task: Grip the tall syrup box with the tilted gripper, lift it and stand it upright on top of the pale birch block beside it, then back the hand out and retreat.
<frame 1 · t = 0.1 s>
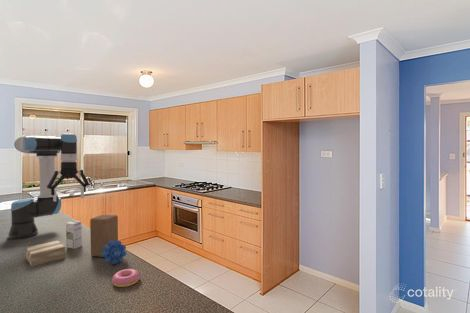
hand: (69, 199, 149), 28 cm above the counter, tool pointing down, fingers open, 13 cm apart
syrup box: (74, 247, 153), on the counter
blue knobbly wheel: (115, 265, 130), on the counter
wooden block: (104, 253, 144), on the counter
doughnut: (126, 282, 113), on the counter
birch block: (45, 258, 138), on the counter
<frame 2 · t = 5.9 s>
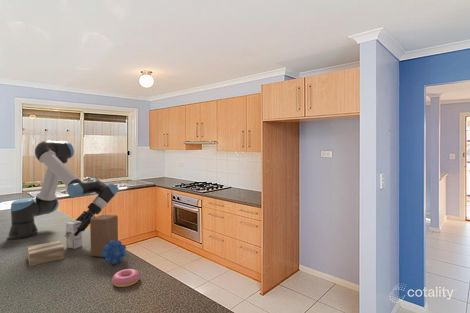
hand: (67, 238, 151), 6 cm above the counter, tool tilted 45°, fingers closed on syrup box, 7 cm apart
syrup box: (74, 247, 153), on the counter, touching gripper
everything else where it was.
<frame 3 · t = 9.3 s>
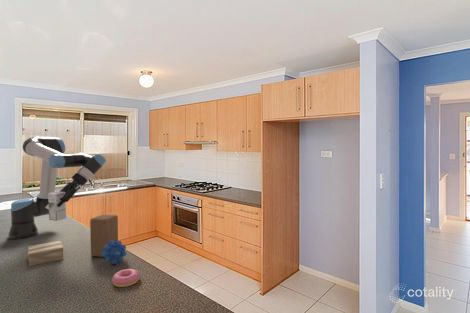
hand: (49, 210, 140), 24 cm above the counter, tool tilted 45°, fingers closed on syrup box, 7 cm apart
syrup box: (57, 219, 143), point 18 cm above the counter, touching gripper
everything else where it was.
when the fingers open (13 cm above the counter, at t = 12.9 s): syrup box drops 2 cm, resting on birch block.
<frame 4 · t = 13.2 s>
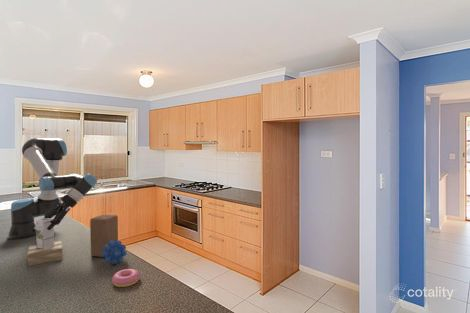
hand: (38, 232, 136), 14 cm above the counter, tool tilted 45°, fingers open, 12 cm apart
syrup box: (45, 247, 138), point 5 cm above the counter, touching birch block
birch block: (45, 258, 138), on the counter, touching syrup box
everything else where it was.
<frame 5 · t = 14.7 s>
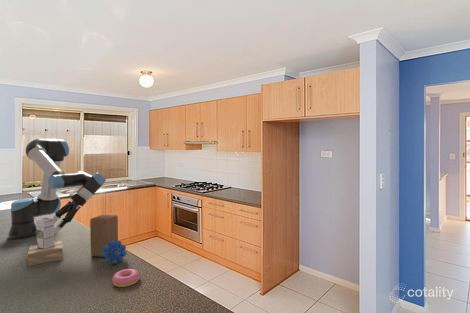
hand: (50, 229, 139), 14 cm above the counter, tool tilted 45°, fingers open, 13 cm apart
syrup box: (46, 247, 138), point 5 cm above the counter
birch block: (46, 258, 138), on the counter
everything else where it was.
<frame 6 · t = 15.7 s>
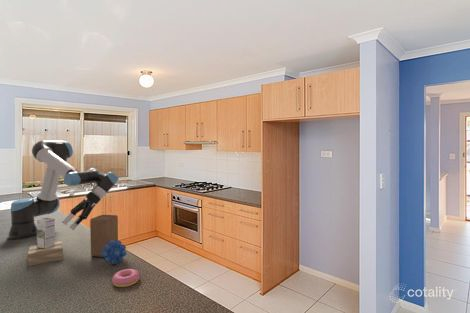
hand: (67, 226, 145), 14 cm above the counter, tool tilted 45°, fingers open, 13 cm apart
nothing on the counter moved.
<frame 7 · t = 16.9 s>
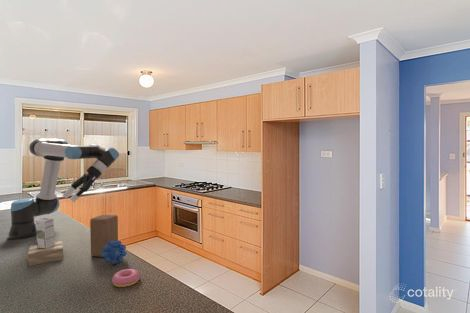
hand: (67, 198, 145), 29 cm above the counter, tool tilted 45°, fingers open, 13 cm apart
syrup box: (46, 247, 138), point 5 cm above the counter, touching birch block
birch block: (46, 258, 138), on the counter, touching syrup box
everything else where it was.
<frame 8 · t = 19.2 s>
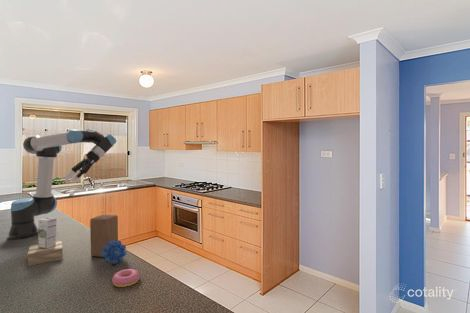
hand: (68, 180, 157), 38 cm above the counter, tool tilted 45°, fingers open, 13 cm apart
syrup box: (46, 247, 138), point 6 cm above the counter
birch block: (46, 258, 138), on the counter
everything else where it was.
at the end: syrup box inside the target area on the birch block (0.4 cm from its centre), point 6.0 cm above the birch block's base; syrup box tilted 4°; the gripper is holding nothing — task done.
